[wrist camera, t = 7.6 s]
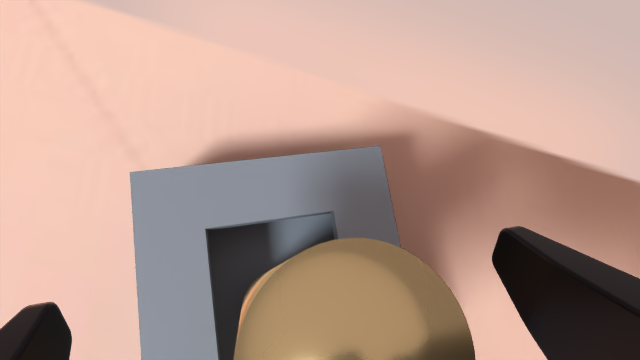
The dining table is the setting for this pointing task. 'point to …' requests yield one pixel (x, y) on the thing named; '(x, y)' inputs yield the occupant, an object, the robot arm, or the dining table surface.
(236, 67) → the dining table surface
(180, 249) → the grey socket block
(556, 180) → the dining table surface
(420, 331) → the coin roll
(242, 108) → the dining table surface
